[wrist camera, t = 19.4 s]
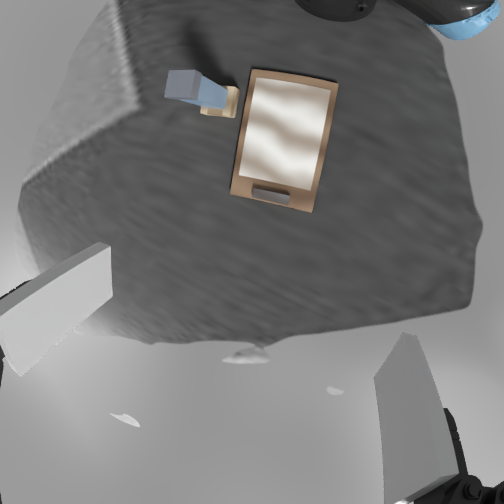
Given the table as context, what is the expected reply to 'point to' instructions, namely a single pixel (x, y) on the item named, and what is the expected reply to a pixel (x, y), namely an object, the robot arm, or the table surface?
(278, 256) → the table surface
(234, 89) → the stand
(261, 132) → the clipboard
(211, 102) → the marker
